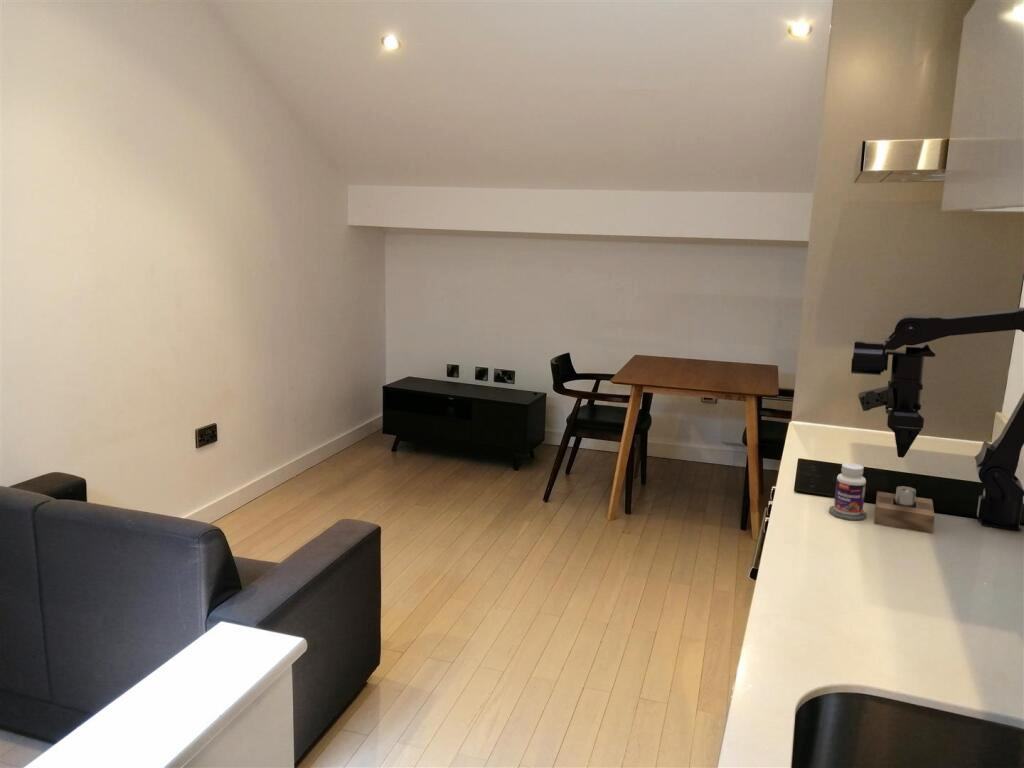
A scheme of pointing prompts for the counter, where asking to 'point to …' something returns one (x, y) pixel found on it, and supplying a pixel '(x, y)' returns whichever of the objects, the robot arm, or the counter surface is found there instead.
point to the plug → (905, 496)
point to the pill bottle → (850, 490)
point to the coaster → (847, 517)
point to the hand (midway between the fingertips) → (899, 451)
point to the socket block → (904, 513)
